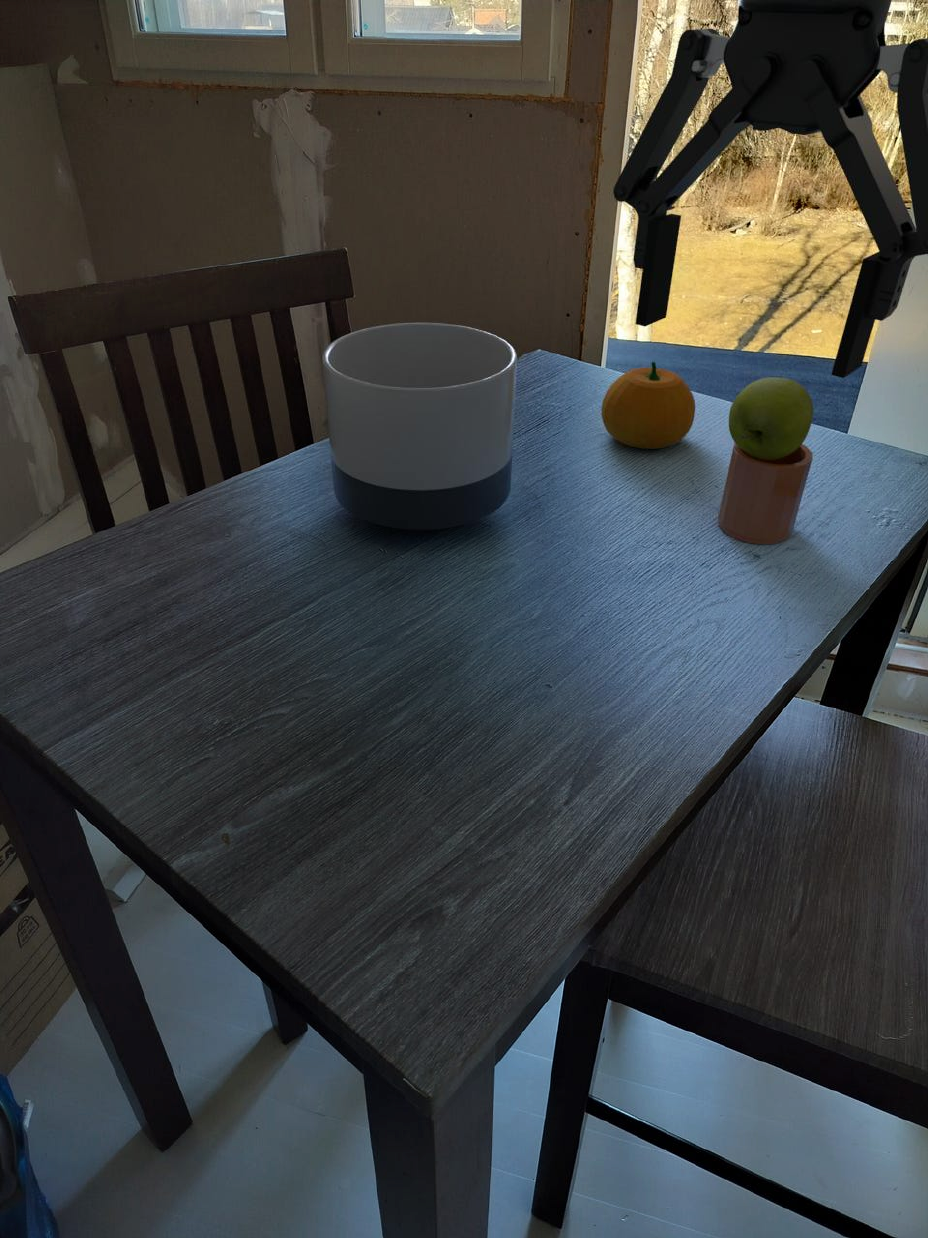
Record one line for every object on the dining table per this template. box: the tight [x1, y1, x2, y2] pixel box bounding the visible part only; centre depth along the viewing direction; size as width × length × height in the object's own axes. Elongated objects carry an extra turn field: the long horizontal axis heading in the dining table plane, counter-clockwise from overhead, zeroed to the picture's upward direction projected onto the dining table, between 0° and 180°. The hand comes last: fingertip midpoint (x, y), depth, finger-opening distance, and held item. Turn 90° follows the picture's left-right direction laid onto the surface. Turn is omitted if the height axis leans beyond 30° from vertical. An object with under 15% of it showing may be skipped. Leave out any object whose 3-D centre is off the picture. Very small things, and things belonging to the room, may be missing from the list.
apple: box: [728, 376, 814, 461], centre depth 85 cm, size 8×9×8 cm
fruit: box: [601, 361, 696, 450], centre depth 108 cm, size 12×12×10 cm
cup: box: [717, 441, 814, 545], centre depth 90 cm, size 8×8×9 cm
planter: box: [321, 322, 518, 531], centre depth 90 cm, size 19×19×18 cm
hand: (742, 344), depth 55 cm, fingers open, 13 cm apart
